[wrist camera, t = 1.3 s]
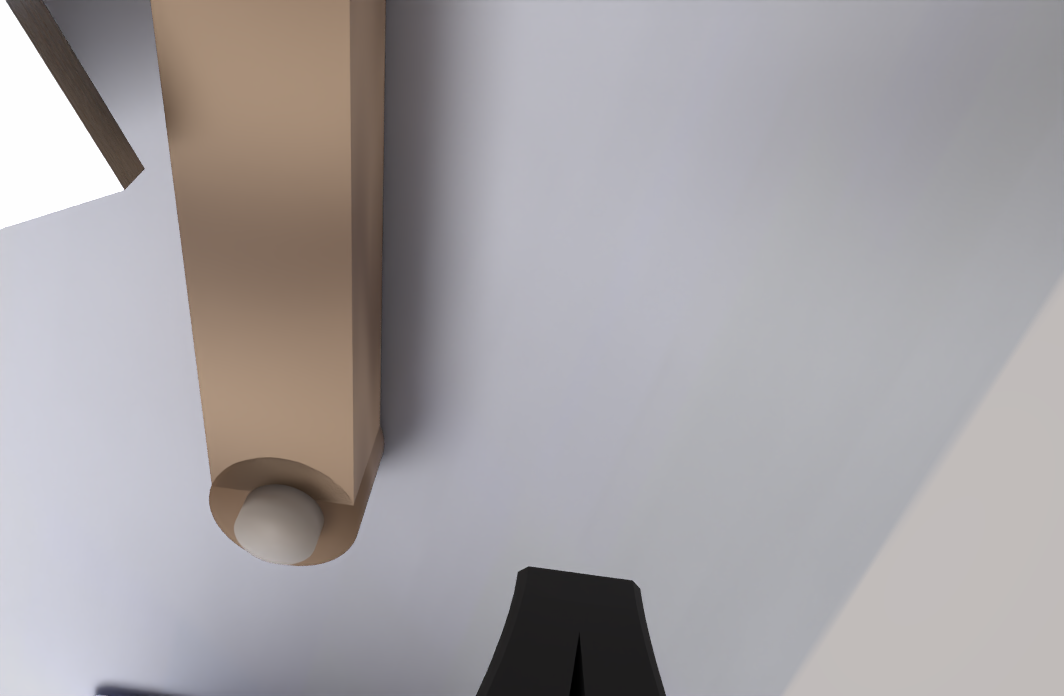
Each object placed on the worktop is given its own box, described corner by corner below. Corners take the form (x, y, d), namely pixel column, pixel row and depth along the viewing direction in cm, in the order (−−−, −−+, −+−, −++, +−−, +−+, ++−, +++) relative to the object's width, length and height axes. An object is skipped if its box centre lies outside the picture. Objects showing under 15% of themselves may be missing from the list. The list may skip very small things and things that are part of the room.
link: (383, 493, 22) (352, 597, 20) (253, 475, 22) (205, 577, 20) (393, -62, 15) (346, -8, 13) (201, -88, 15) (117, -38, 13)
